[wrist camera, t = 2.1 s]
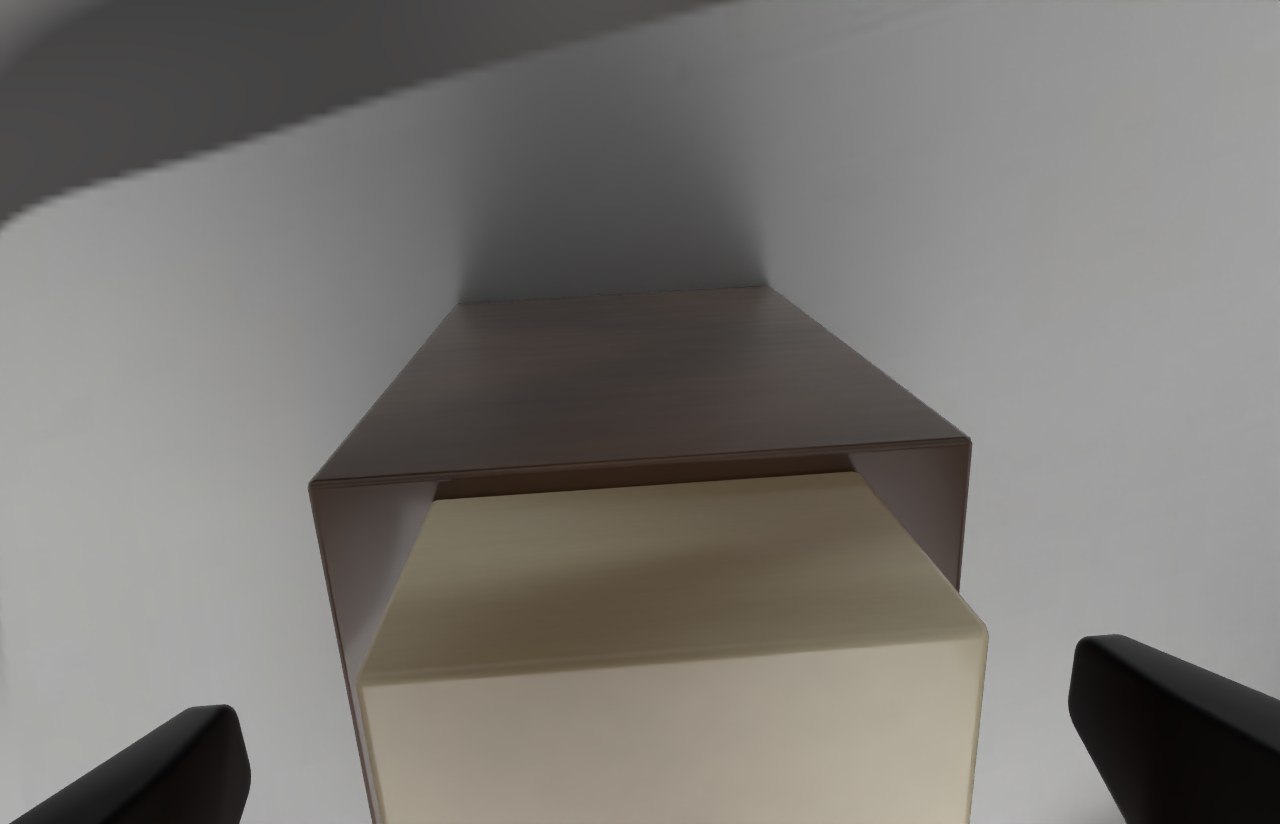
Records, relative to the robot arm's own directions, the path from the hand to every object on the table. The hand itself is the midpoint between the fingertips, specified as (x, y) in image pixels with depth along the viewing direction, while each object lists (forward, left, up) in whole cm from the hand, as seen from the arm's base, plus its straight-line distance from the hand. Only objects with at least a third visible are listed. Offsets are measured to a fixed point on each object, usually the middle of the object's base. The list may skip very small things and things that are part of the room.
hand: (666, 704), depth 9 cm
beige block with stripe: (0, 0, -1) cm, 1 cm away
